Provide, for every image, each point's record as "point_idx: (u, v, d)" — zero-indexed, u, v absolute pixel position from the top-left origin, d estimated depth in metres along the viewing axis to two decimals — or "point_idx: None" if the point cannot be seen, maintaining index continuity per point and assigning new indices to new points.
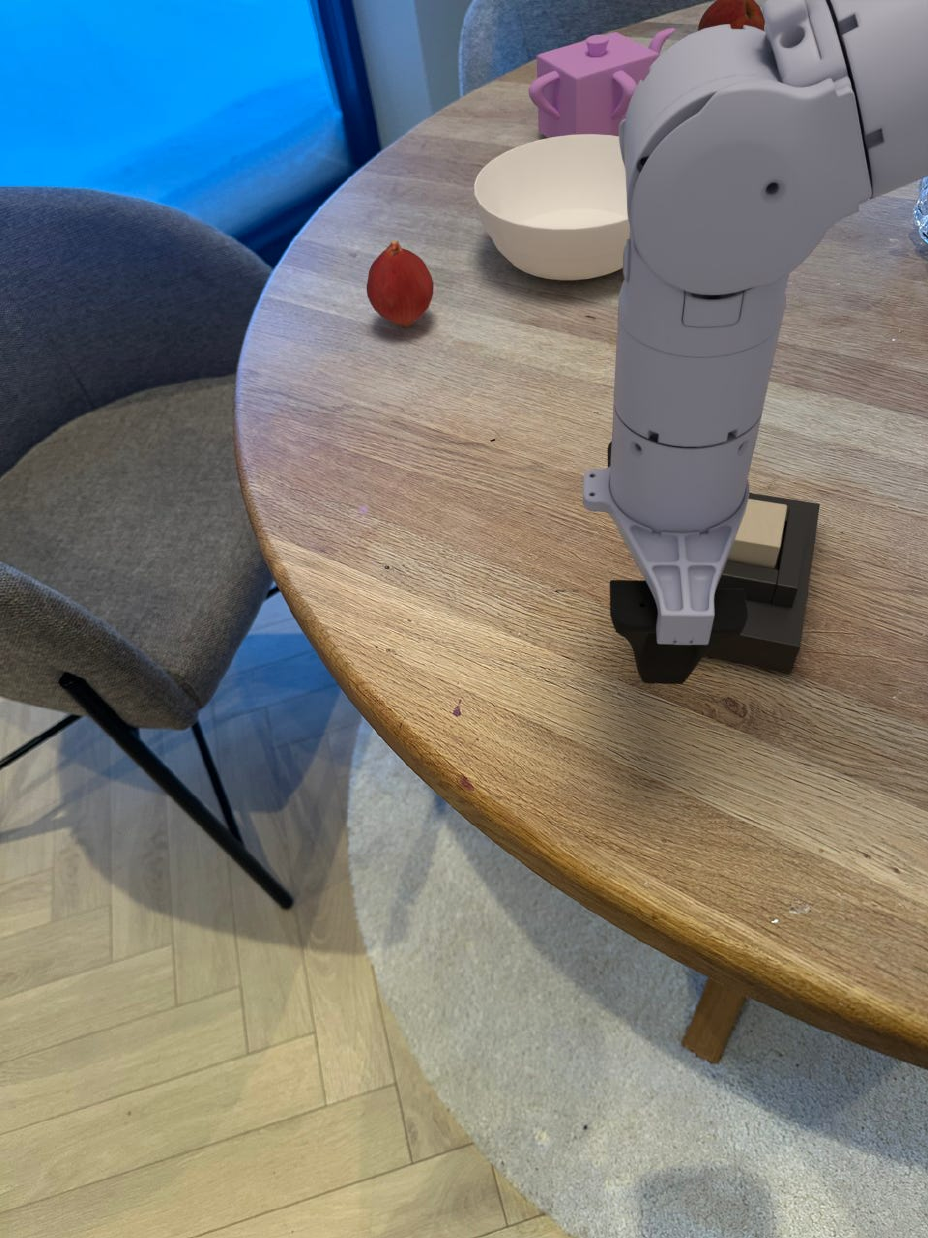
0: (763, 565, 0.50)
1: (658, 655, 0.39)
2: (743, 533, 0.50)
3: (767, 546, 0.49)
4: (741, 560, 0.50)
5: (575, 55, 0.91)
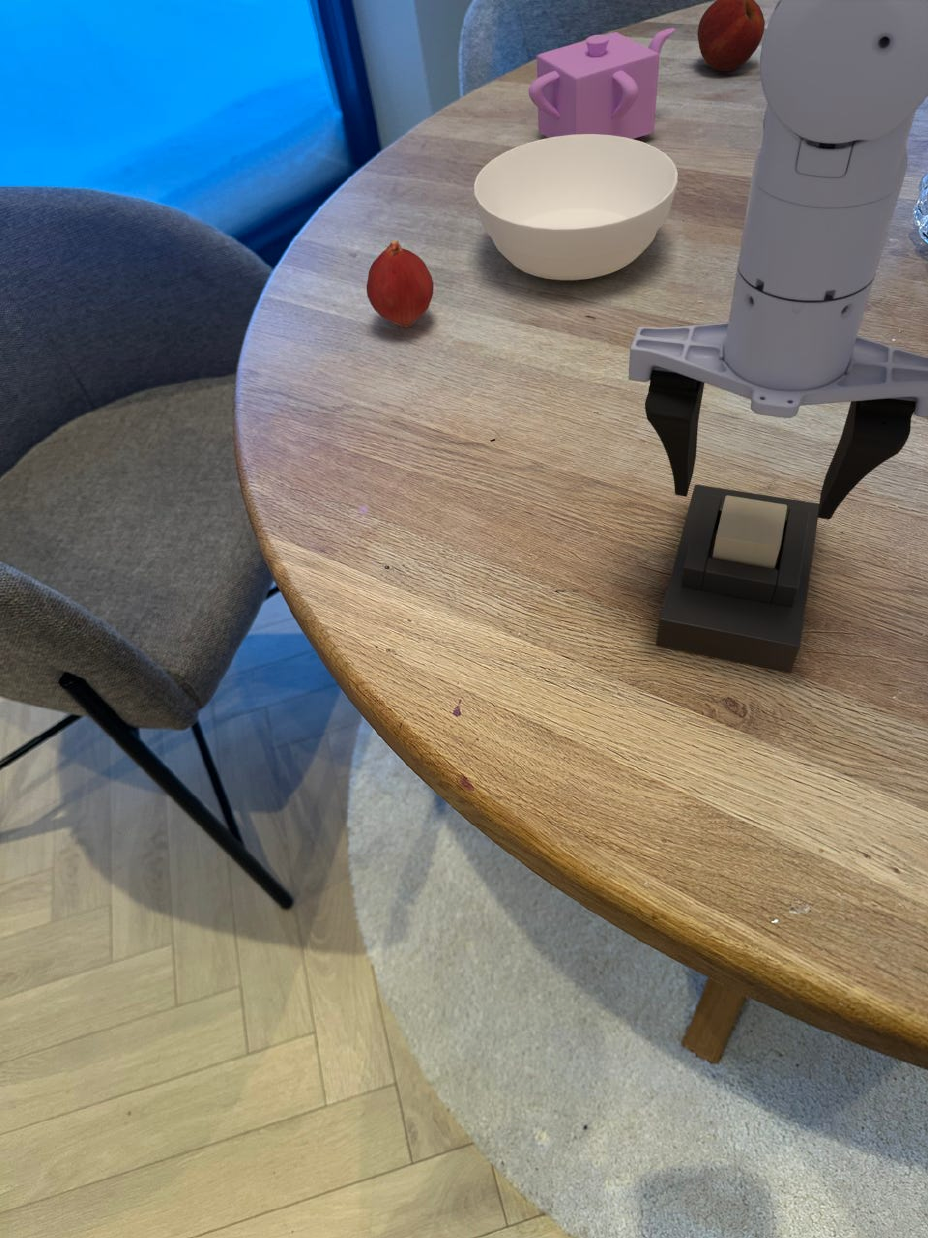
0: (763, 565, 0.50)
1: None
2: (743, 533, 0.50)
3: (767, 546, 0.49)
4: (741, 560, 0.50)
5: (575, 55, 0.91)
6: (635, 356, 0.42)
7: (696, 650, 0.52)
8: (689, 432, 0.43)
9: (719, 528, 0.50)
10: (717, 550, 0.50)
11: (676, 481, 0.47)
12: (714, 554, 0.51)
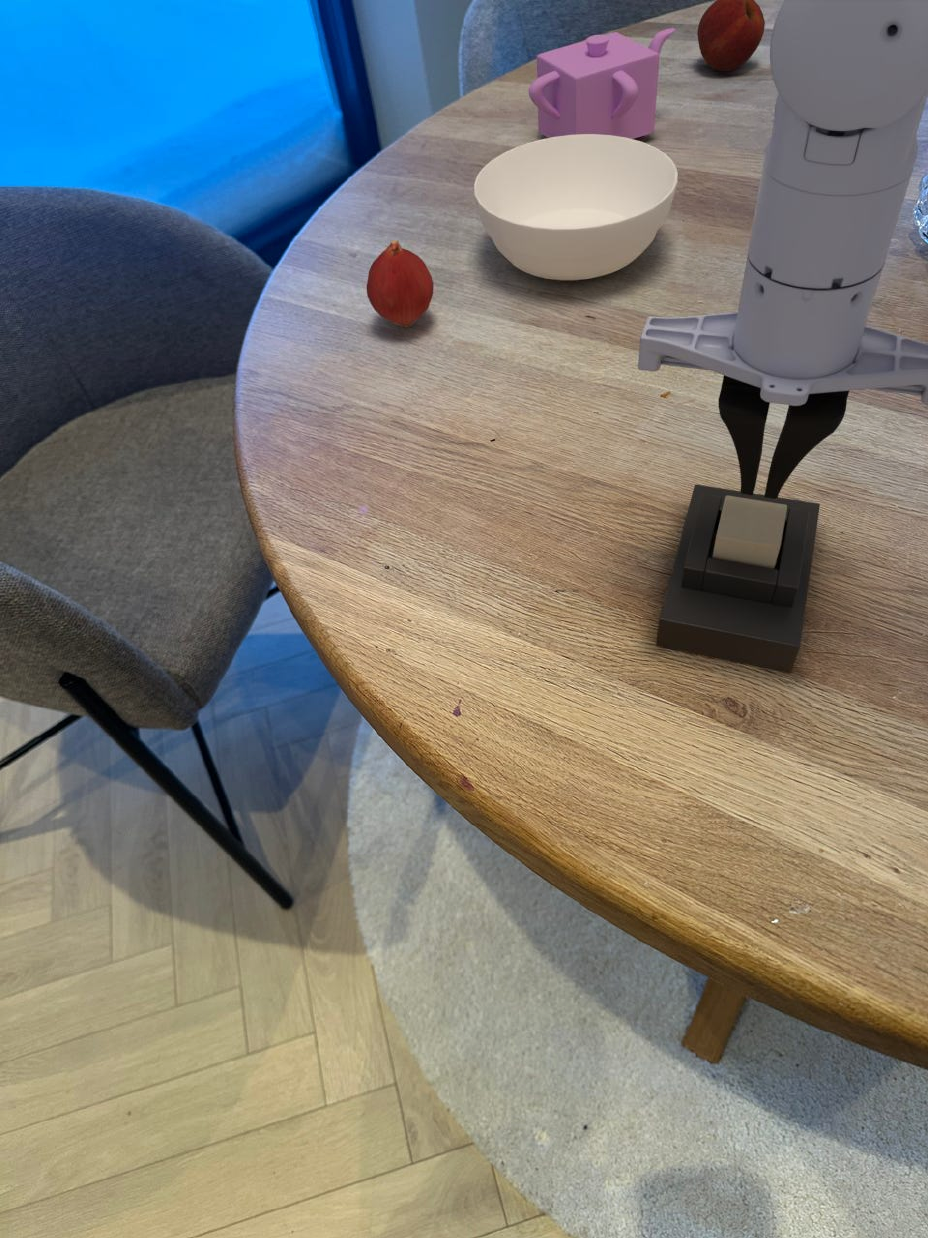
0: (763, 565, 0.50)
1: None
2: (743, 533, 0.50)
3: (767, 546, 0.49)
4: (741, 560, 0.50)
5: (575, 55, 0.91)
6: (645, 345, 0.42)
7: (696, 650, 0.52)
8: (763, 430, 0.43)
9: (719, 528, 0.50)
10: (717, 550, 0.50)
11: (743, 480, 0.46)
12: (714, 554, 0.51)
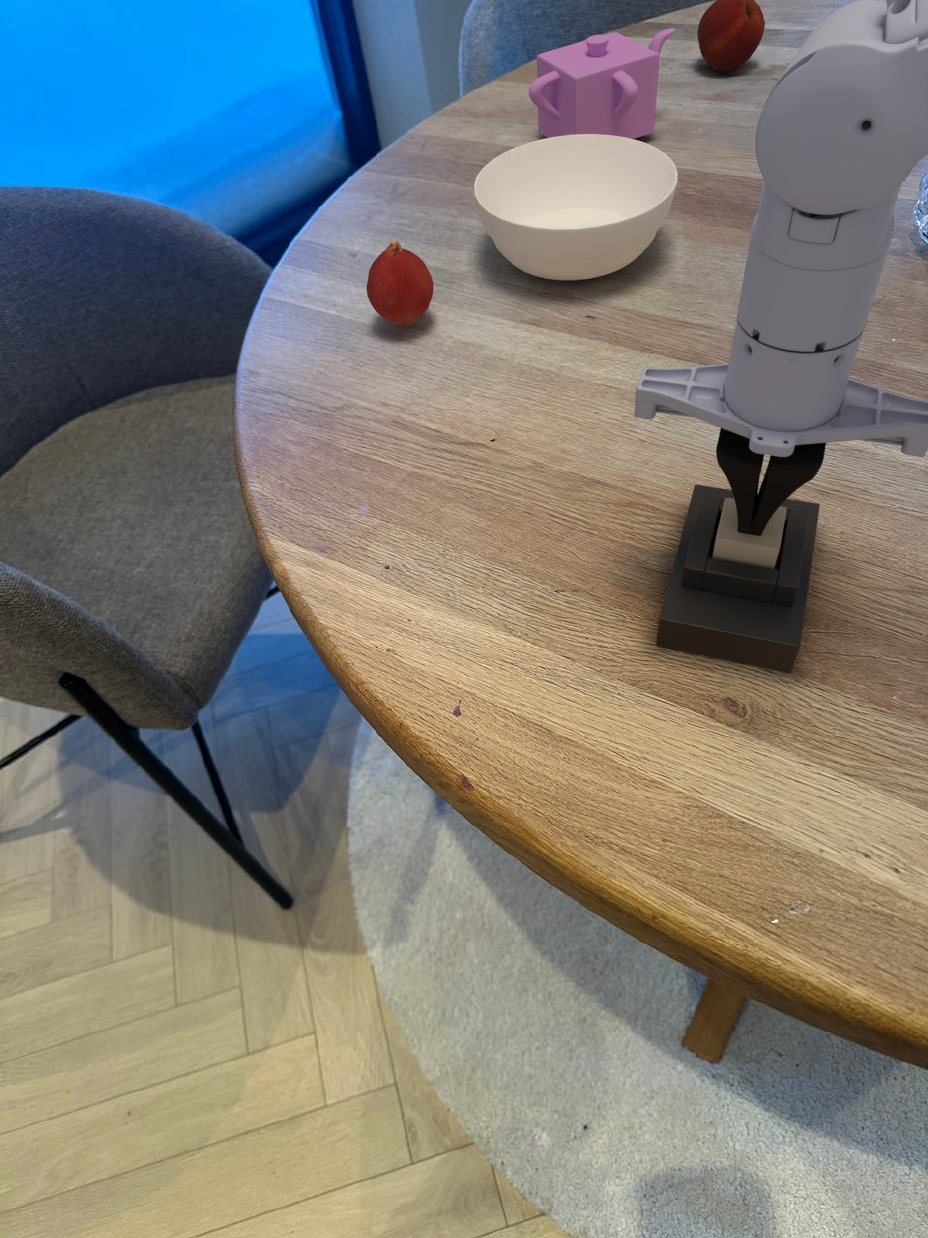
0: None
1: None
2: (742, 536, 0.50)
3: (767, 549, 0.49)
4: (740, 562, 0.51)
5: (575, 55, 0.91)
6: (641, 396, 0.45)
7: (696, 650, 0.52)
8: (758, 476, 0.45)
9: (719, 530, 0.50)
10: (717, 553, 0.51)
11: (740, 520, 0.49)
12: (714, 557, 0.51)
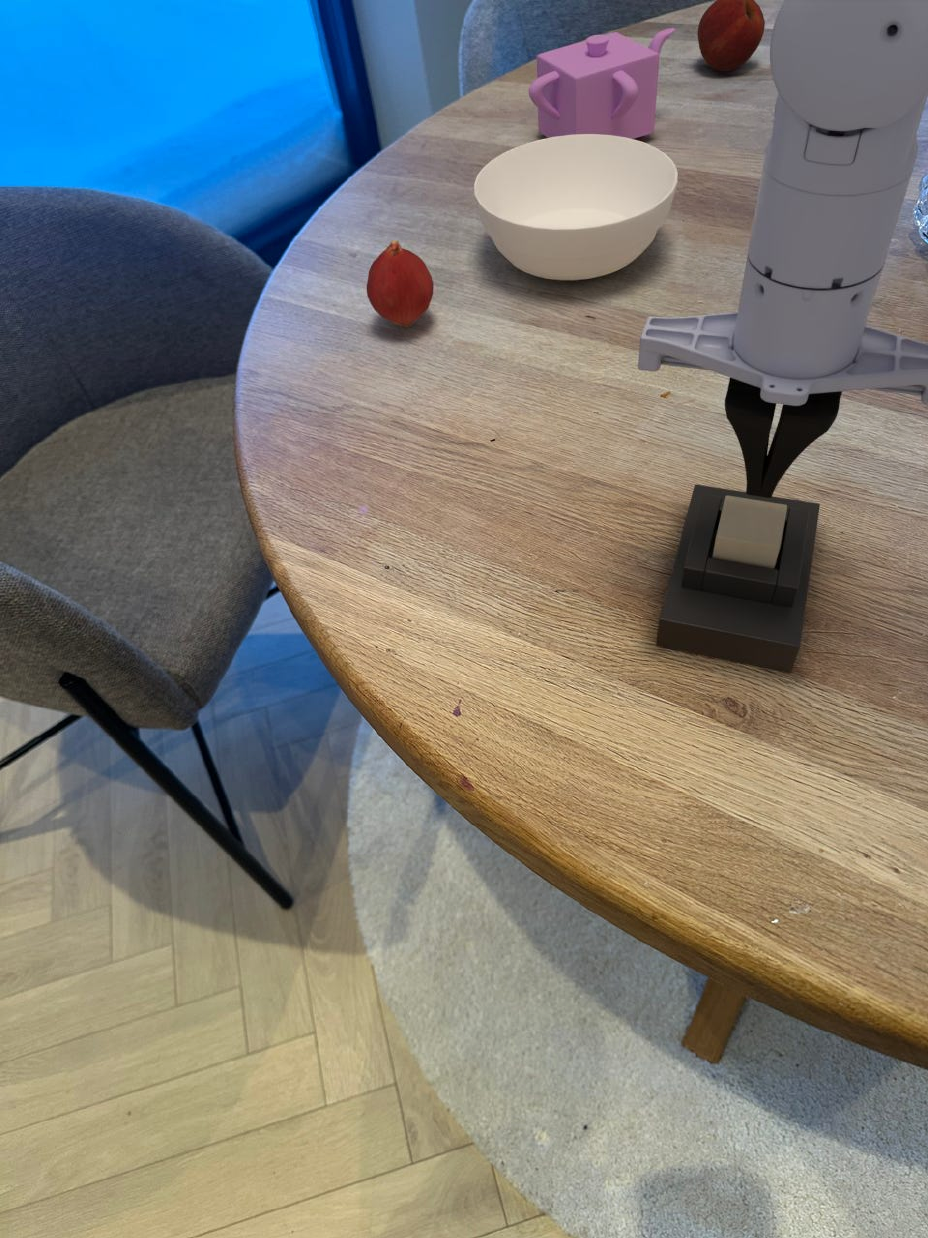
0: (763, 565, 0.50)
1: None
2: (743, 533, 0.50)
3: (767, 546, 0.49)
4: (741, 560, 0.50)
5: (575, 55, 0.91)
6: (645, 345, 0.42)
7: (696, 650, 0.52)
8: (769, 431, 0.42)
9: (719, 528, 0.50)
10: (717, 550, 0.50)
11: (749, 480, 0.46)
12: (714, 554, 0.51)
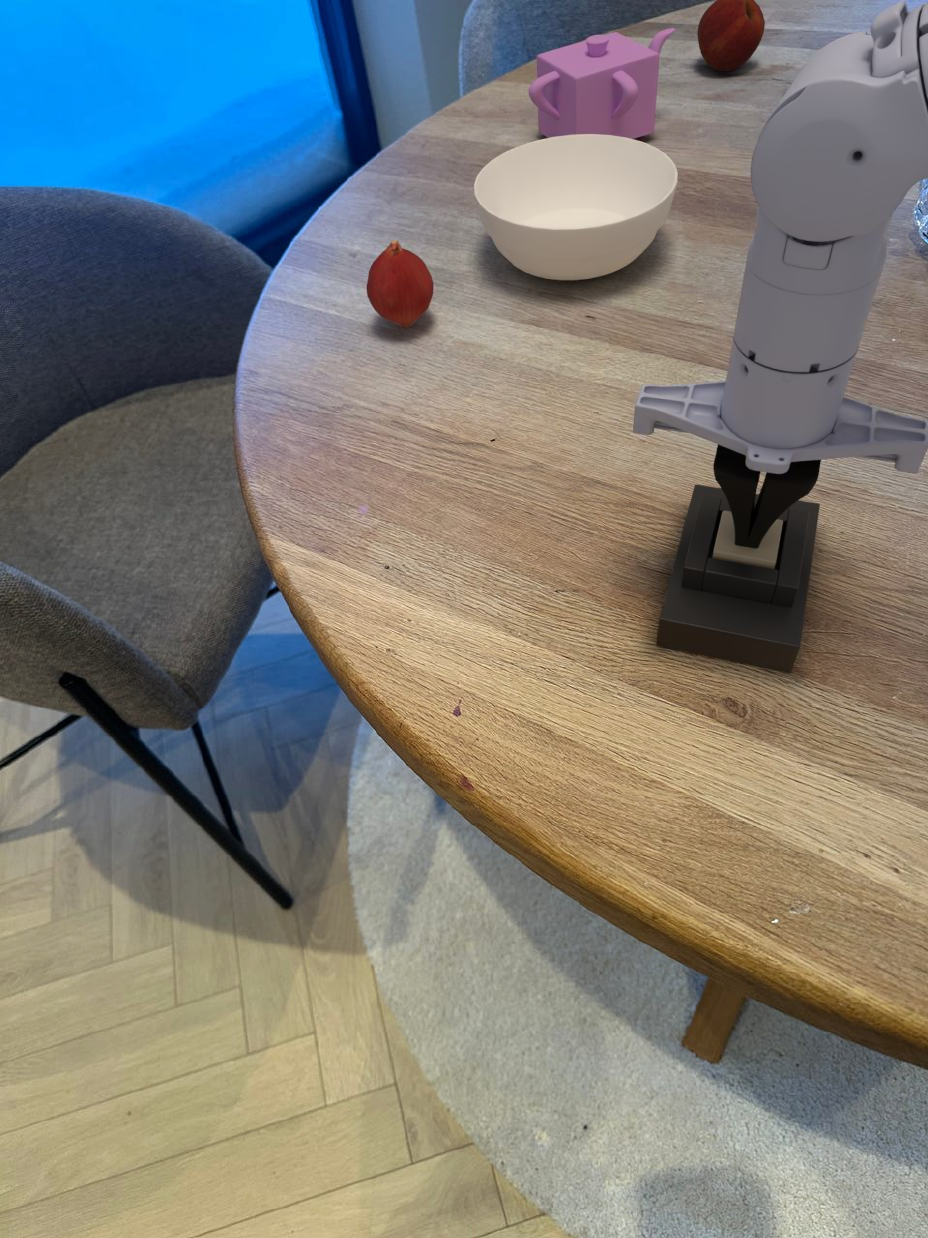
0: None
1: None
2: (740, 548, 0.51)
3: (763, 561, 0.50)
4: None
5: (575, 55, 0.91)
6: (639, 412, 0.46)
7: (696, 650, 0.52)
8: (755, 492, 0.46)
9: (716, 543, 0.51)
10: None
11: (737, 533, 0.50)
12: None
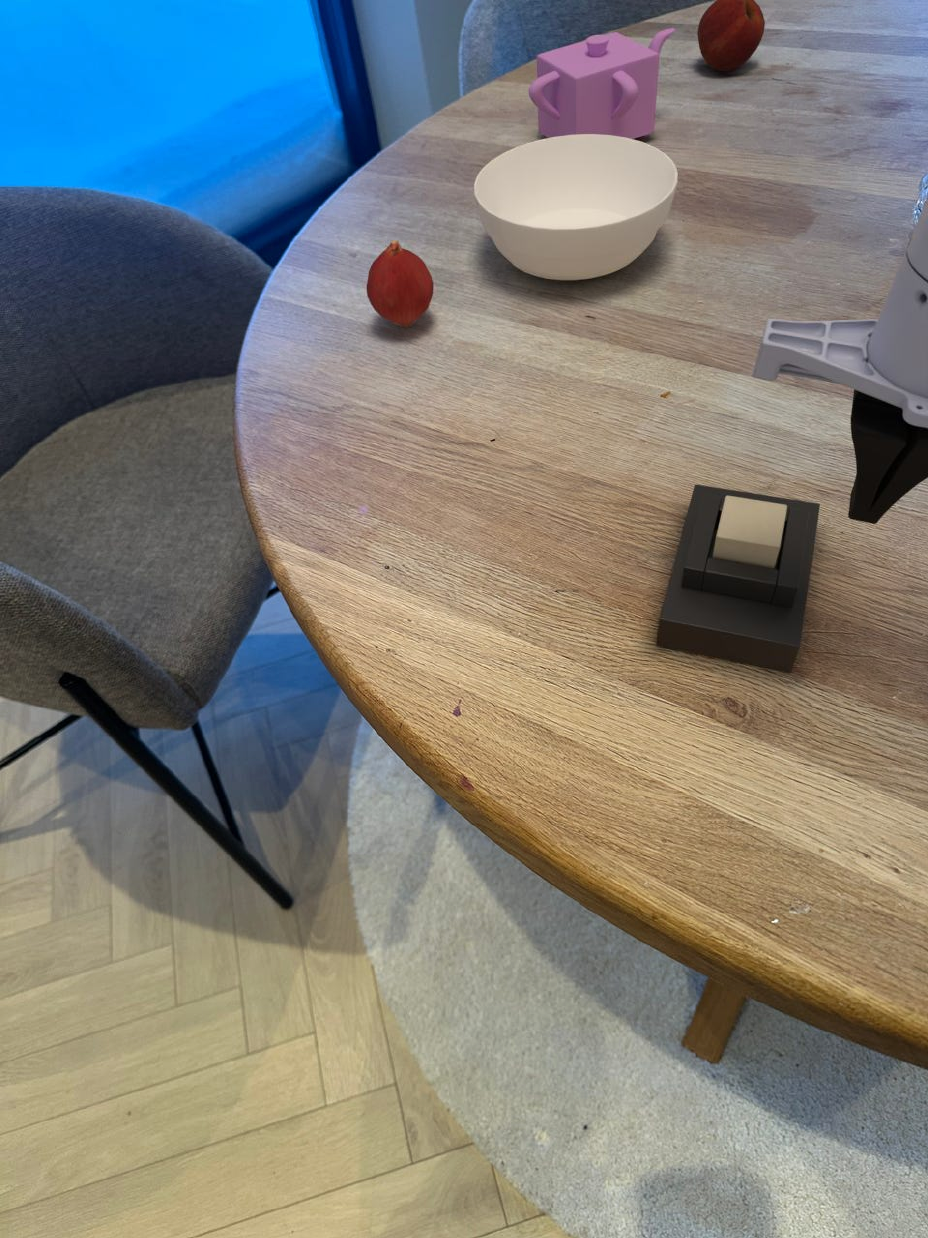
0: (763, 565, 0.50)
1: None
2: (743, 533, 0.50)
3: (767, 546, 0.49)
4: (741, 560, 0.50)
5: (575, 55, 0.91)
6: (766, 351, 0.38)
7: (696, 650, 0.52)
8: (896, 454, 0.38)
9: (719, 528, 0.50)
10: (717, 550, 0.50)
11: (857, 505, 0.42)
12: (714, 554, 0.51)
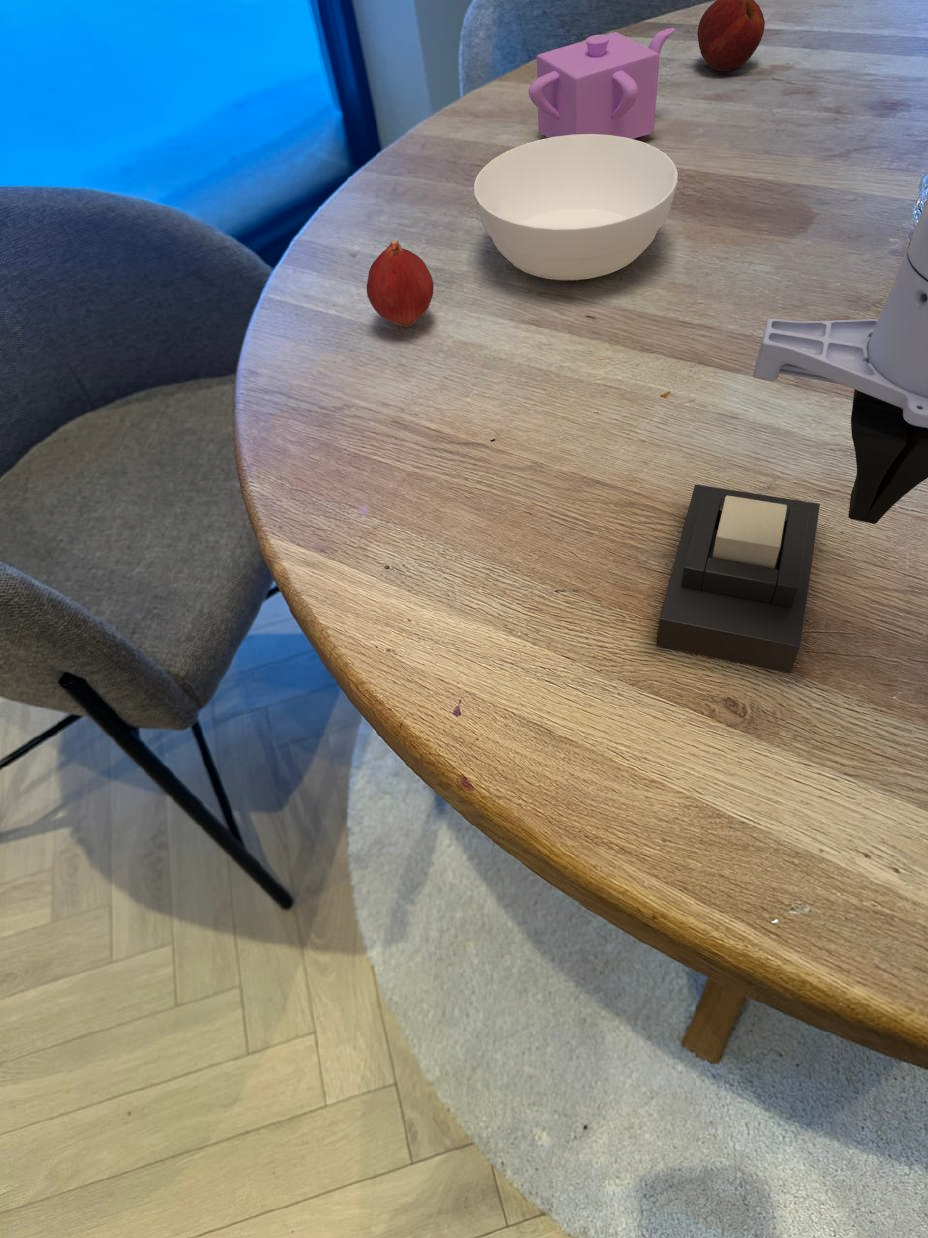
0: (763, 565, 0.50)
1: None
2: (743, 533, 0.50)
3: (767, 546, 0.49)
4: (741, 560, 0.50)
5: (575, 55, 0.91)
6: (767, 351, 0.38)
7: (696, 650, 0.52)
8: (897, 454, 0.38)
9: (719, 528, 0.50)
10: (717, 550, 0.50)
11: (857, 505, 0.42)
12: (714, 554, 0.51)
